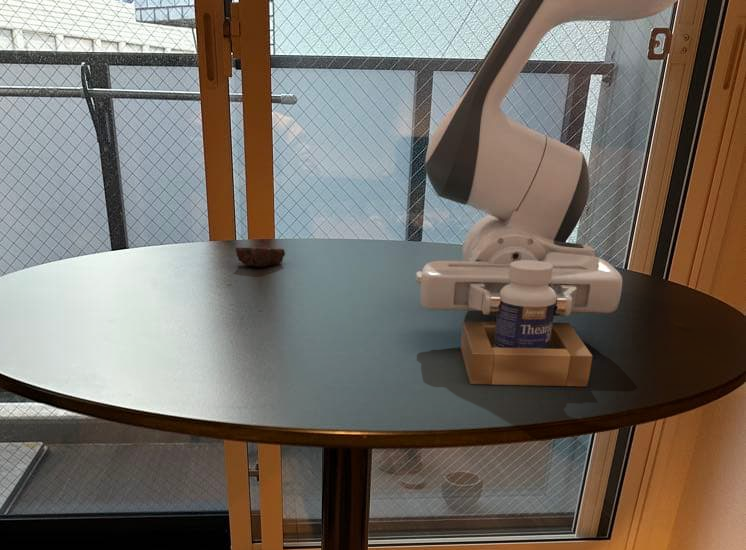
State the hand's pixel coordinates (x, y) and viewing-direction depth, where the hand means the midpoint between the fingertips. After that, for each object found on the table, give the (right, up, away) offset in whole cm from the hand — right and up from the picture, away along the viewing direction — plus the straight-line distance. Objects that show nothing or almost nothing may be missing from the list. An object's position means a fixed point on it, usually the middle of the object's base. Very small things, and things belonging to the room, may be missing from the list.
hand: (528, 307), depth 76 cm
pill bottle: (0, -5, +4) cm, 6 cm away
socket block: (0, -5, +4) cm, 6 cm away
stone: (-30, +19, +44) cm, 56 cm away
